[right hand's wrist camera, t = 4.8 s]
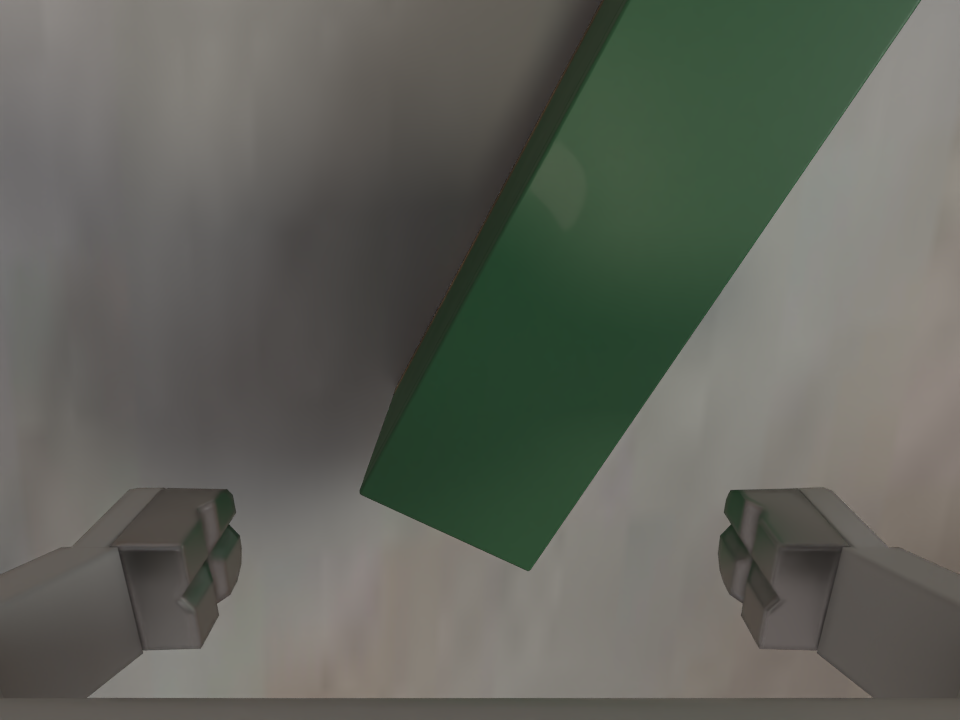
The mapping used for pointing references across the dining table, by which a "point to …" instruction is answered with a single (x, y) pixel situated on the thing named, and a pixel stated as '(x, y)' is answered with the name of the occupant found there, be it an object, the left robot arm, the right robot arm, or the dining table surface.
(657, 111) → the elongated green cuboid
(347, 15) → the dining table surface
